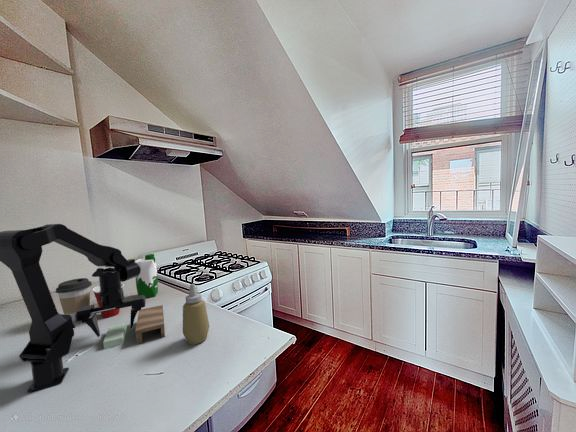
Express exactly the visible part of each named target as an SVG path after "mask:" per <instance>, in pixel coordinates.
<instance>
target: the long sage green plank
mask: <svg viewBox="0 0 576 432" xmlns="http://www.w3.org/2000/svg"><path fill="white" fill-rule="evenodd" d="M127 328H128V327H127V322H123V323H119V324H114V325H109V327H108V329H107V332H106V333H105V334H106V335H105V337H104V339H103V342H102V343H103V350H107V349H111V348H114V347H118V346H122V345H124V341H125V336H126V333H127V330H128V329H127Z"/></svg>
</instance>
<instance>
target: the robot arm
mask: <svg viewBox="0 0 576 432" xmlns="http://www.w3.org/2000/svg"><path fill="white" fill-rule="evenodd" d="M53 242H54V243H56V244H58V245H61V246H63V247H65V248H67V249H69V250H71V251H74V252H76V253H78V254H81V255H82V256H85V257H86V258H87V260H88V261H89V262H90V263H91V264H93V265H94V266H96V267H98V268H97V269H96V270H95V271H94V272H93V273H92V275H91V277H92V278H97V277H98V282H99V285H100V292H99V300H100V301H102V306H100V307H99V306H96V305H95V304H90V305H88V306H83V307H81V308H80V309H79V310H78V311H77V312H76V314H75V319H76V321H75V322H81V324H84V323H85V324H86V325H87V326H88V327H89V328H90V329H91V330H92V331H93V333H94V334H95V335H96V336H97V338H98V337H100V336H101V333H100V326H99V322H98V319H97V314H99V313H100V314H101V312H105V311H110V310H115V309H120V310H121V309H123V308H129V307H131V309H130V323H129V325H130V329H133V327H134V322H135V319H136V316H137V315H138V312H139V311H140V310H141V309H144V308H145V307H146V302H147V301H146V298H145V296H144V295H140V296H138V295H136V296H132V297H131V300H130V299H129V300H126V301H124V300H125V296H124V289H122V288H121V283H122V282H123V283H124V282H127V281H129V280H131V279H134V278H135V277H137V276H138V275H139V274H140V271H141V269H140V267H139V265H138V264H137V263H136V262H135V261H136V260H135V259H134V258H130V259H126V257H125V256H124V255H123V254H122V251H121V249H118V248H116V247H113V246H108V245H104V244H99V243H97V242H95V241H93V240H91V239H89V238H88V237H85V236H83V235H82V234H79V233H77V232H76V231H74V230H73V229H70V228H69V227H67V226H66V225H65V224H61V223H51V224H48V223H47V224H44V225H42V226H39V227H33V228H29V229H18V230H15V229H14V230H4V231H3V230H2V231H0V262H1V263H2V264H3V265H4V266H6V267H7V268H8V269H9V270H10V271H11V273H12V275H13V278H14V280H15V283H16V285H17V288H18V290H19V292H20V296H21V298H22V299H23V303H24V305H25V308H26V309H27V312H28V314H29V316H30V319H31V324H30V327H29V331H28V335H29V341H28V343H27V344H26V346H24V348H23V349H22V351H21V353H20V354H19V356H18V358H19V359H20V360H21V361H22V362H24V363H25V362H29V363H30V367H31V375H32V382H31V384H30V386H29V387H28V388H27V390H26V391H27V392H26V393H32V392H35V391H38V390H43V389H46V388H49V387H52V386H55V385H58V384H61V383H63V381H64V379H65V377H66V375H67V373H68V372H69V370H70V367H64V362H63V357H64V356H66V355H68V354H70V351H71V345H72V342H73V337H74V336H75V328H76V325H74V322H72V317H71V316H70V315H65V314H64V313H61V314H60V313H59V312H58V309H57V307H56V304H55V302H54V298H53V297H52V294H51V291H50V288H49V286H48V282H47V280H46V277H45V274H44V273H43V269H42V267H41V264H40V261H41V256H42V255H43V246H46V245H49V244H51V243H53ZM100 267H101V268H100ZM103 267H105V268H103Z"/></svg>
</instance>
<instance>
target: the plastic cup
mask: <svg viewBox="0 0 576 432" xmlns="http://www.w3.org/2000/svg"><path fill="white" fill-rule="evenodd" d="M124 287H125V284H124V282H123V283H122V282H121V288H122V290H124V289H123V288H124ZM91 291H92V293H93V295H94V297H95V299H96V302H97V307H100V306H102V301H100V300H99V292H100V284H99V285H97V286H94V287H93V288H92V289H91ZM120 311H121V308H120V309H115V310H110V311H105V312H100V314H101V316H102V318H104V319H107V318H113V317H115V316H117V315H119V314H120Z"/></svg>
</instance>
